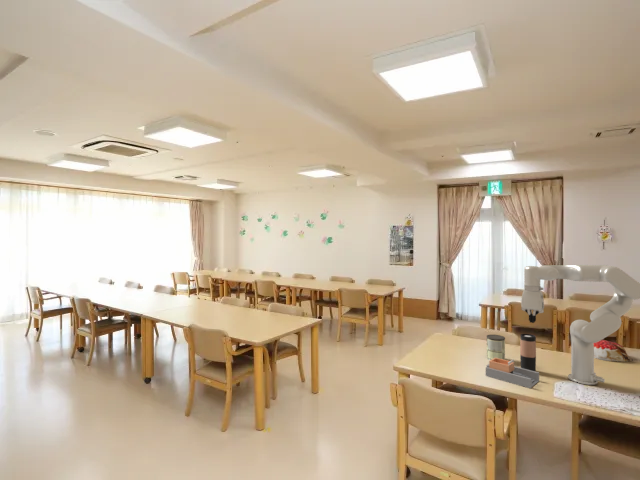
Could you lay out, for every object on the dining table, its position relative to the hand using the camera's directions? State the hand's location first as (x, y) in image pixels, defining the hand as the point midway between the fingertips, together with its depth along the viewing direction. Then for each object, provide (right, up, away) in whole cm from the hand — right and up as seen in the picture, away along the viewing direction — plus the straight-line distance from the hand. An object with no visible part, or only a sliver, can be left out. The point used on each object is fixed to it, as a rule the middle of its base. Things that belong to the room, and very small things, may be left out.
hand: (532, 322), depth 192 cm
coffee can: (-7, -29, +26) cm, 40 cm away
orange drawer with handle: (-17, -27, -1) cm, 32 cm away
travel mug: (+2, -29, +7) cm, 30 cm away
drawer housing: (-13, -29, -4) cm, 32 cm away
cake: (+66, -29, +31) cm, 79 cm away
